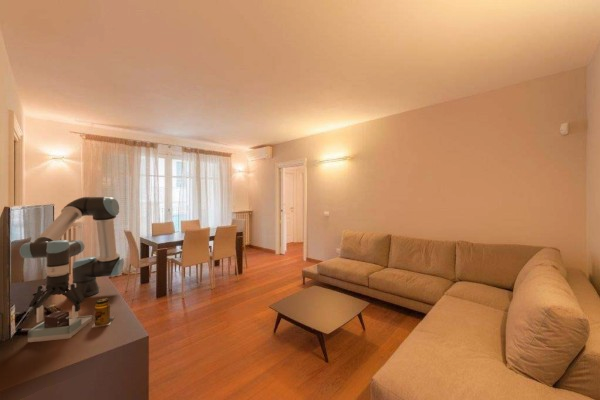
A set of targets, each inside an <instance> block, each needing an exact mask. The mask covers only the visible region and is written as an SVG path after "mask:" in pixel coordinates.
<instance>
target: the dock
mask: <svg viewBox="0 0 600 400" xmlns="http://www.w3.org/2000/svg"><path fill="white" fill-rule="evenodd" d="M93 319H94V316H93V315H81V316H80V315H78V317H77V318H76V319H74V320H72V316H69V326H65V327H54V328H44V321H41V322H39V324H37V325H35V326H34V327H33V328H31V329H29V330H28V331H27V343H33V342H45V341H54V340H55V341H56V340H57V341H58V340H65V339H71V338H72V337H74V335H76V334H77V333H78V332H80V331H81V330H82V329H83V328H85V327H86V326H87V325H88V324H89V323H90V322H92V321H93Z"/></svg>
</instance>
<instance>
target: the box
mask: <svg viewBox="0 0 600 400" xmlns="http://www.w3.org/2000/svg"><path fill="white" fill-rule="evenodd" d="M69 317H70V311H65V310H58V311H57V310H56V311H55V312H53V313H50V314H48V315H45V316H44V318H43V320H44V321H43V322H44V328H54V327H65V326H69Z"/></svg>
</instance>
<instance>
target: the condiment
mask: <svg viewBox="0 0 600 400" xmlns="http://www.w3.org/2000/svg"><path fill="white" fill-rule="evenodd" d="M114 317H115V316H112V317H111V303H110V298H107V297H104V298H100V299H97V300H96V301H95V306H94V324H92V327H91V328H98V327H104V326H108V325H111V323H112V322H113V320H114Z"/></svg>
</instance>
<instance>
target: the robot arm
mask: <svg viewBox="0 0 600 400" xmlns="http://www.w3.org/2000/svg"><path fill="white" fill-rule="evenodd" d="M119 213H120V204H119V202H118V200H117V199H116V198H114V197H110V196H109V197H108V196H83V197H80V198H77V199H75V200H72V201H70V202H69V203H67V204H66V205H65V206H64V207H63V208H61V211H60V214H59V215H58V216H57V217H56V218H55V219H54V220H53V221H52V222H51V224H49V225H48V226H47V227H46V229H44V230H43V232H42V233H41V234H40V235H39V236H38V237H37V238H36V239H35V240H34V241H33V242H25V243H23V244H22V245H21V246H20V248H19V255H20V256H21V257H22V258H23V259H43V258H44V259H45V258H46V275H47V276H46V279H45V281H46V284H42V285H39V286H37V291H36V293H35V294H34V297H33V298H32V300H30V301H31V302H30V303H29V305H28V307H29V308H34V315H35V316H36V323H37V324H38V323H39V324H40V323H41V322H43V320H44V305H43V304H44V303H45V302H46V301H47V300H48V299H49V298H50V297H51V296H55V295H58V296H61V295H62V296H64V297H66V299H68V300H69V301H70V302H71V304H73V305H72V306H71V308H72V309H71V317H72V320H74V319H76V318H77V317H78V316H79V311H80V310H81V304H82V303H84V302H85V301H86V299H85V298H87V297H90V296H94V295H96V294H98V293H99V292H100V286H99V283H98V281H97V278H101V277H102V278H104V277H105V278H106V277H116V276H119V275H120V274H121V273H122V270H123V267H124V263H125V262H124V261H125V260H124V258H123V257H120V254H119V253H118V252H117V245H116V236H115V235H116V233H115V224H114V220H115V219H116V217H117V215H119ZM85 216H92V220H93V221H95V222H96V230H97V241H98V248H99V249H98V250H99V256H98V257H97V256H88V257H83V258H80V259H76V260H74V261H73V262H72V268H71V269H72V283H69V281H70V273H69V272H70V258H72V257H74V256H78V255H79V254H81V253H82V252H83V251H84V250H85V243H84V242H83V241H81V240H79V239H75V240H74V239H73V240H67V239H62V237H64V235H65V234H66V233H67V231H68V230H69V229H70V228H71V226H72V225H73V224H74V223H75V222H76V221H77V220H80V219H81V218H82V217H85ZM45 290H46V291H47V292H46V293H45V294H44V292H45ZM43 294H44V295H43ZM42 295H43V296H42Z"/></svg>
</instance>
